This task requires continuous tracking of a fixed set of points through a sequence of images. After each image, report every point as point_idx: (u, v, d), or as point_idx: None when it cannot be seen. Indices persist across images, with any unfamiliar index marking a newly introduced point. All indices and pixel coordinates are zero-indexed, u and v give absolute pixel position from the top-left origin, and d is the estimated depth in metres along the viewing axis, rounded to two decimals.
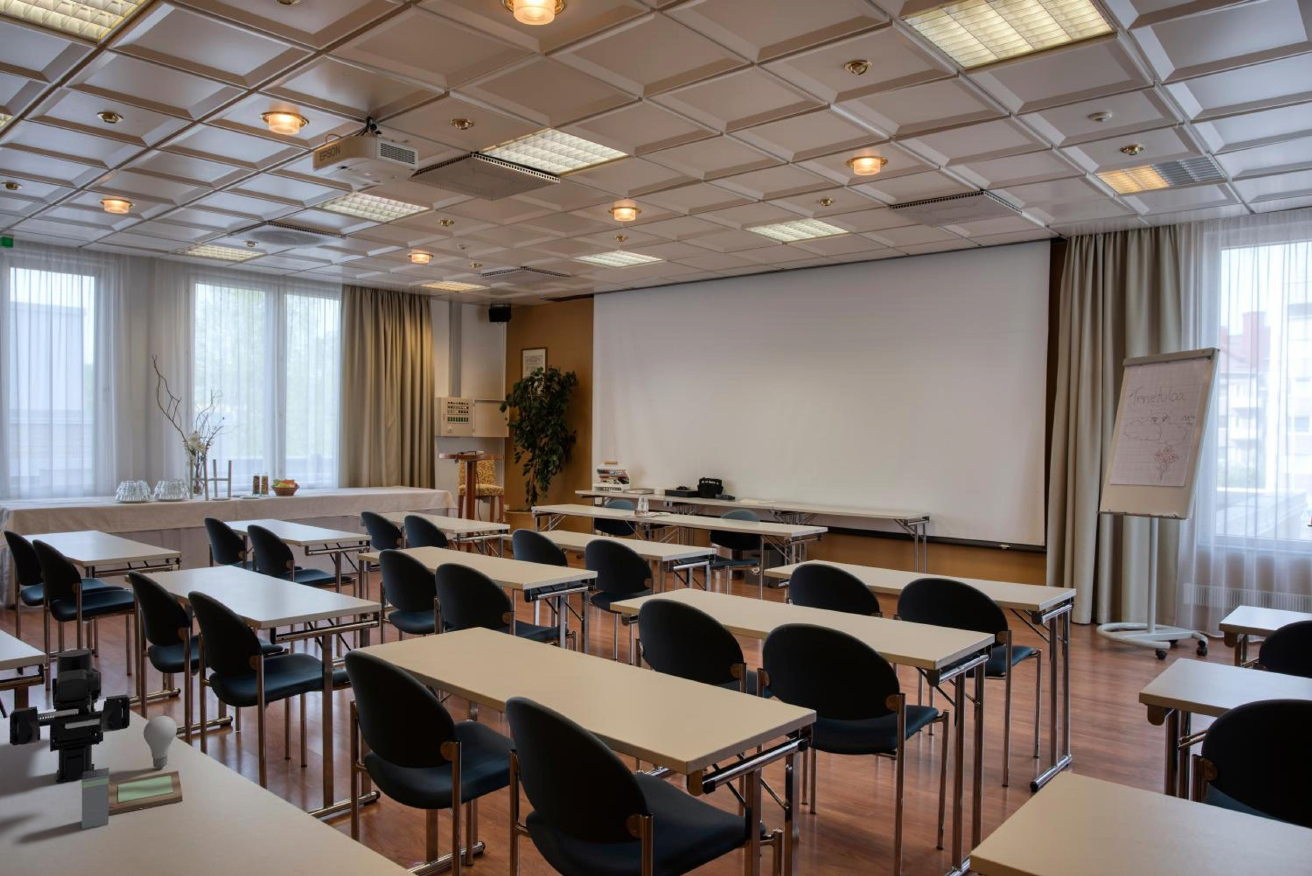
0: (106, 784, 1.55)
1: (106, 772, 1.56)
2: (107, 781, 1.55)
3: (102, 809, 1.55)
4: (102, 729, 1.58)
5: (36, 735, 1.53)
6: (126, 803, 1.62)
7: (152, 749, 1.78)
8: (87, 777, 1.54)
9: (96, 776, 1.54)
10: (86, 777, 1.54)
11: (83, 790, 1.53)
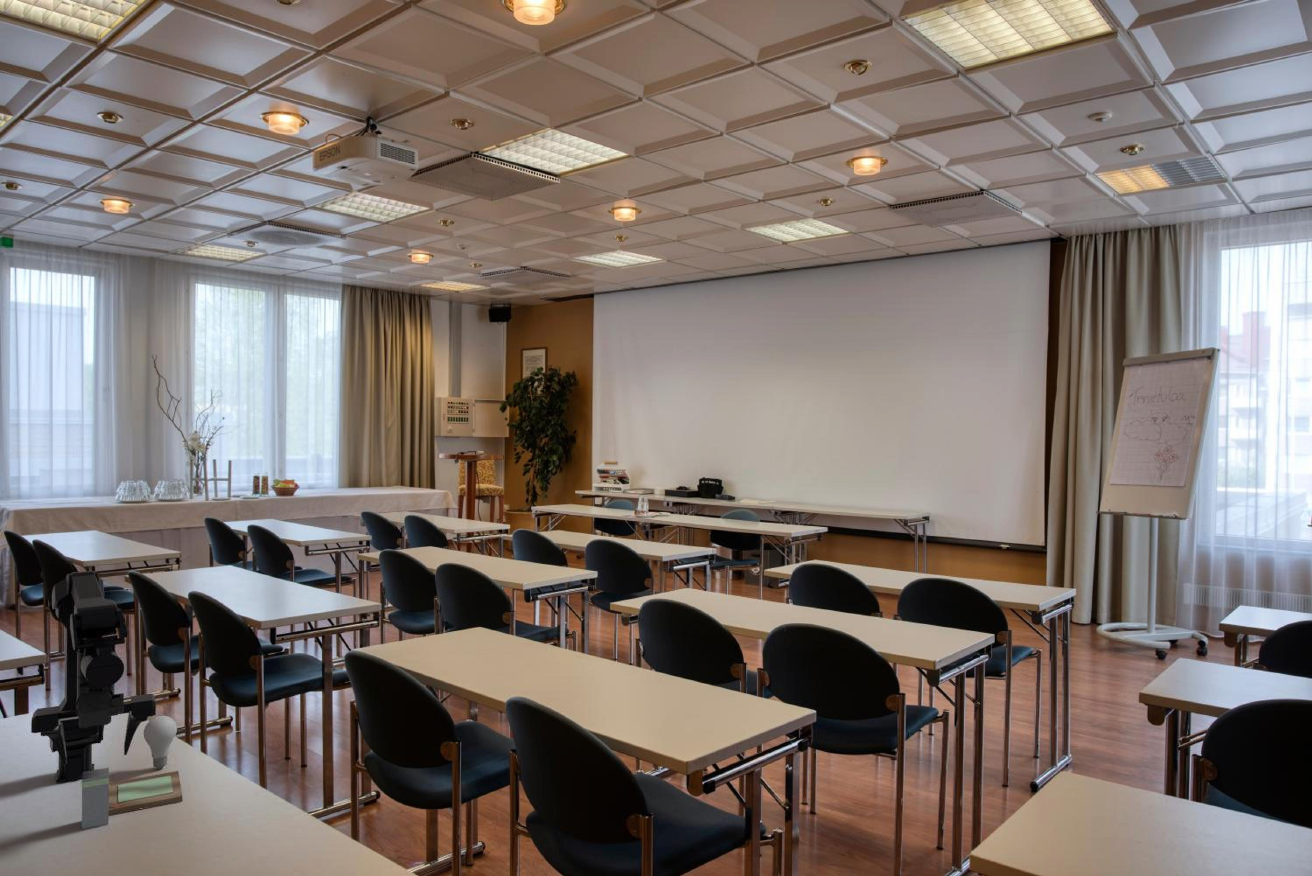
0: (106, 784, 1.55)
1: (106, 772, 1.56)
2: (107, 781, 1.55)
3: (102, 809, 1.55)
4: None
5: None
6: (126, 803, 1.62)
7: (152, 749, 1.78)
8: (87, 777, 1.54)
9: (96, 776, 1.54)
10: (86, 777, 1.54)
11: (83, 790, 1.53)
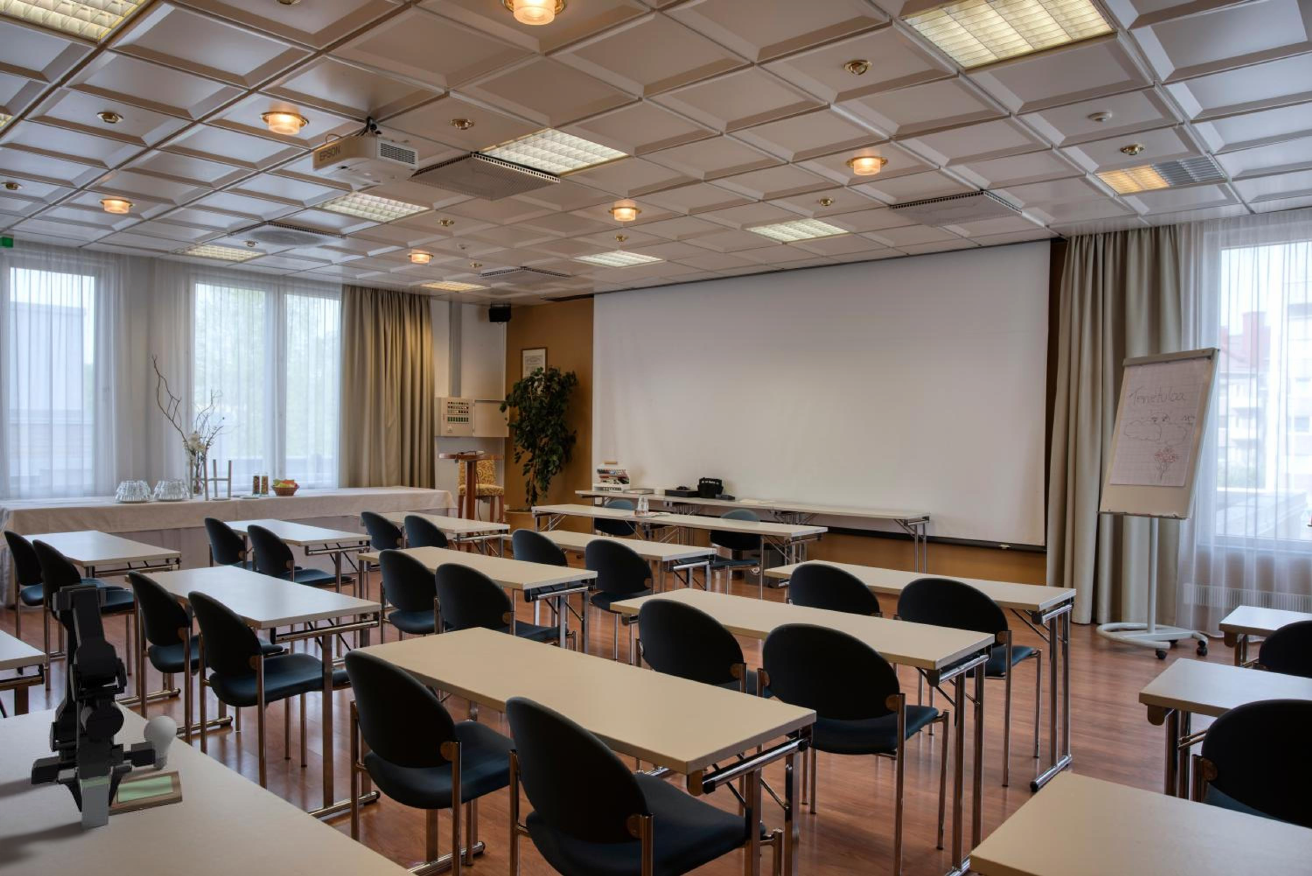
0: (106, 784, 1.55)
1: None
2: (107, 781, 1.55)
3: (102, 809, 1.54)
4: None
5: None
6: (126, 803, 1.62)
7: None
8: None
9: None
10: None
11: (83, 790, 1.53)
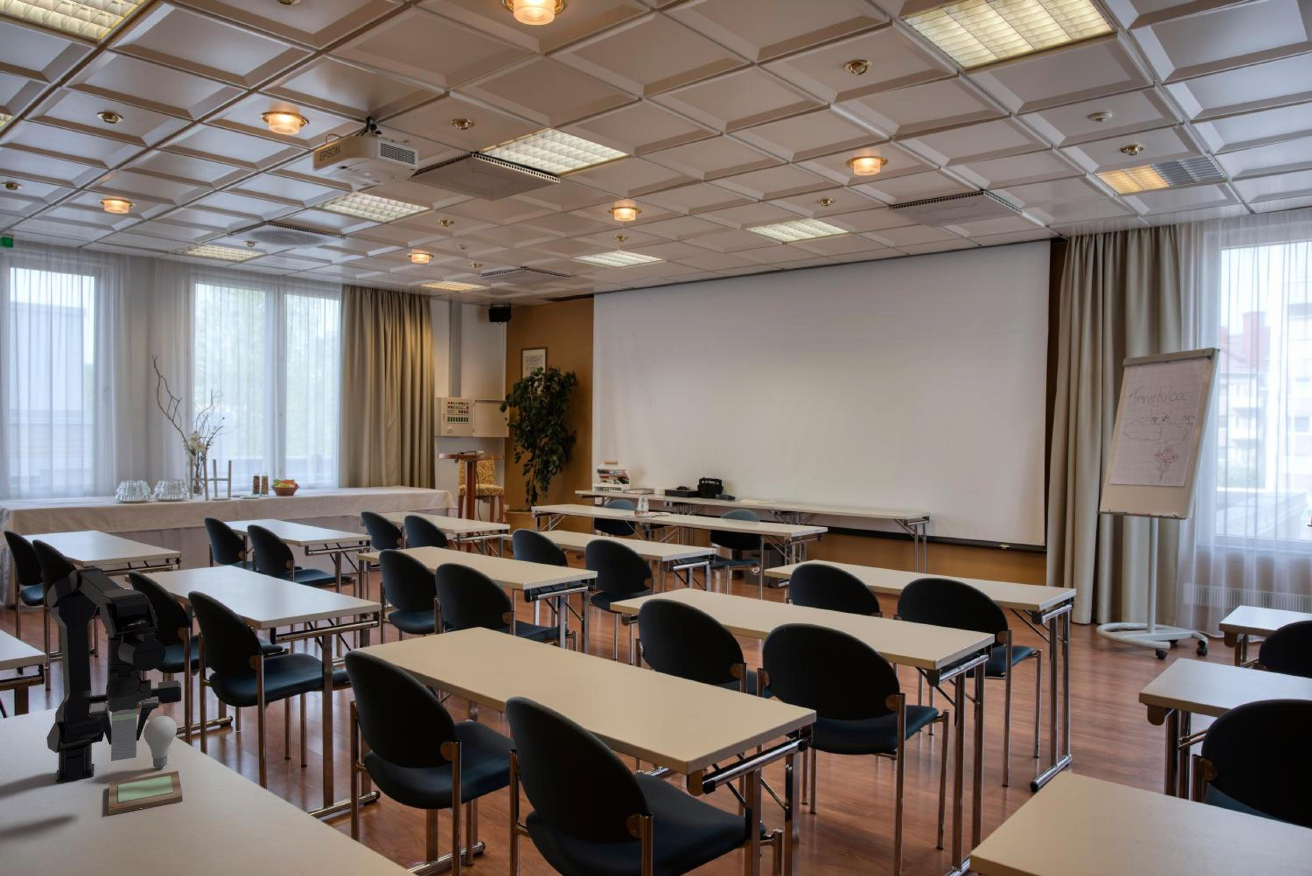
0: (134, 719, 1.61)
1: None
2: (135, 716, 1.61)
3: (130, 742, 1.61)
4: None
5: None
6: (126, 803, 1.62)
7: (152, 749, 1.78)
8: None
9: (125, 710, 1.61)
10: None
11: (112, 723, 1.60)
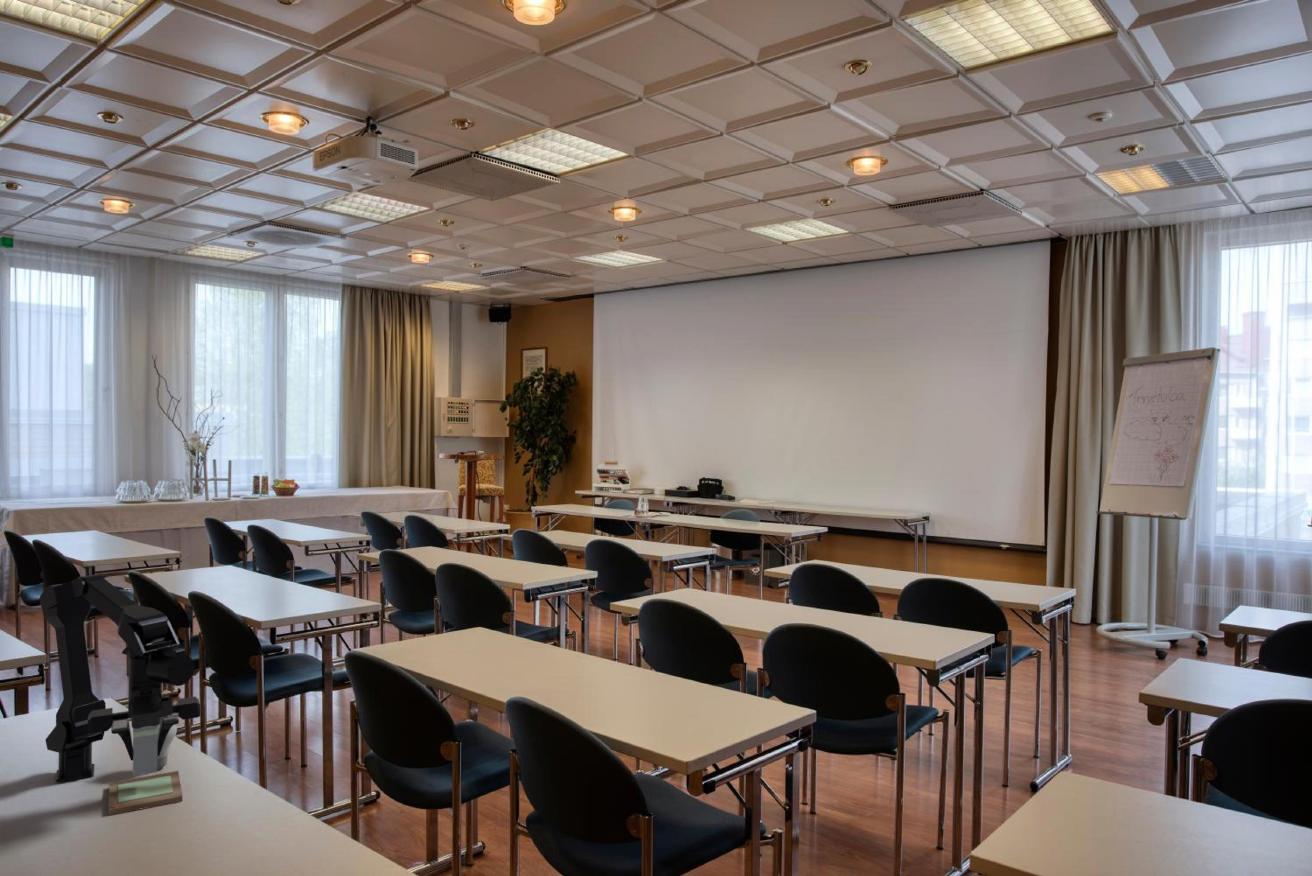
0: (155, 734, 1.67)
1: None
2: (156, 732, 1.67)
3: (152, 757, 1.66)
4: None
5: (130, 757, 1.66)
6: (126, 803, 1.62)
7: None
8: None
9: (146, 727, 1.66)
10: None
11: (134, 739, 1.65)
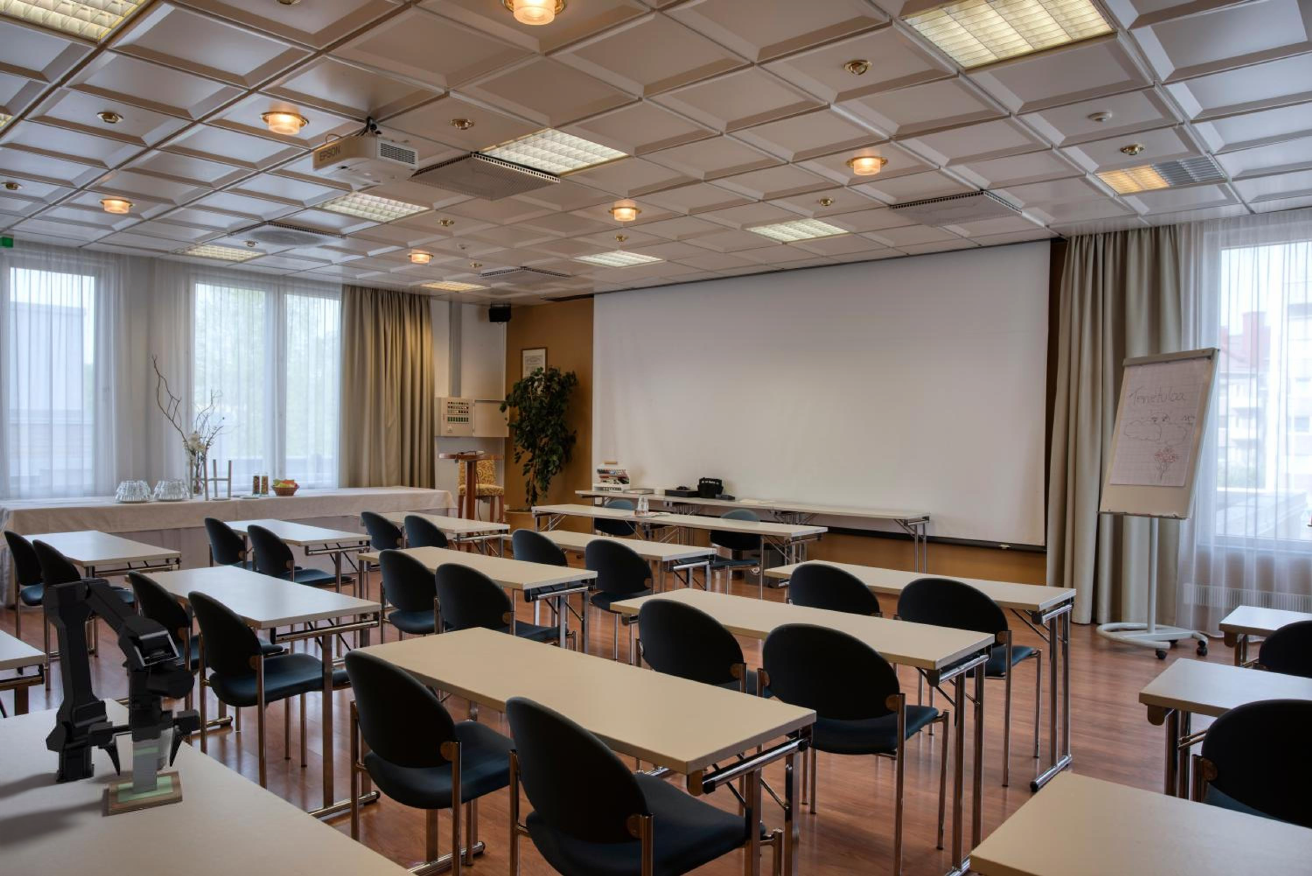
0: (155, 753, 1.67)
1: (155, 741, 1.68)
2: (156, 750, 1.67)
3: (151, 775, 1.66)
4: None
5: (117, 773, 1.65)
6: (126, 803, 1.62)
7: None
8: (138, 746, 1.66)
9: (146, 745, 1.66)
10: (137, 746, 1.66)
11: (134, 758, 1.65)
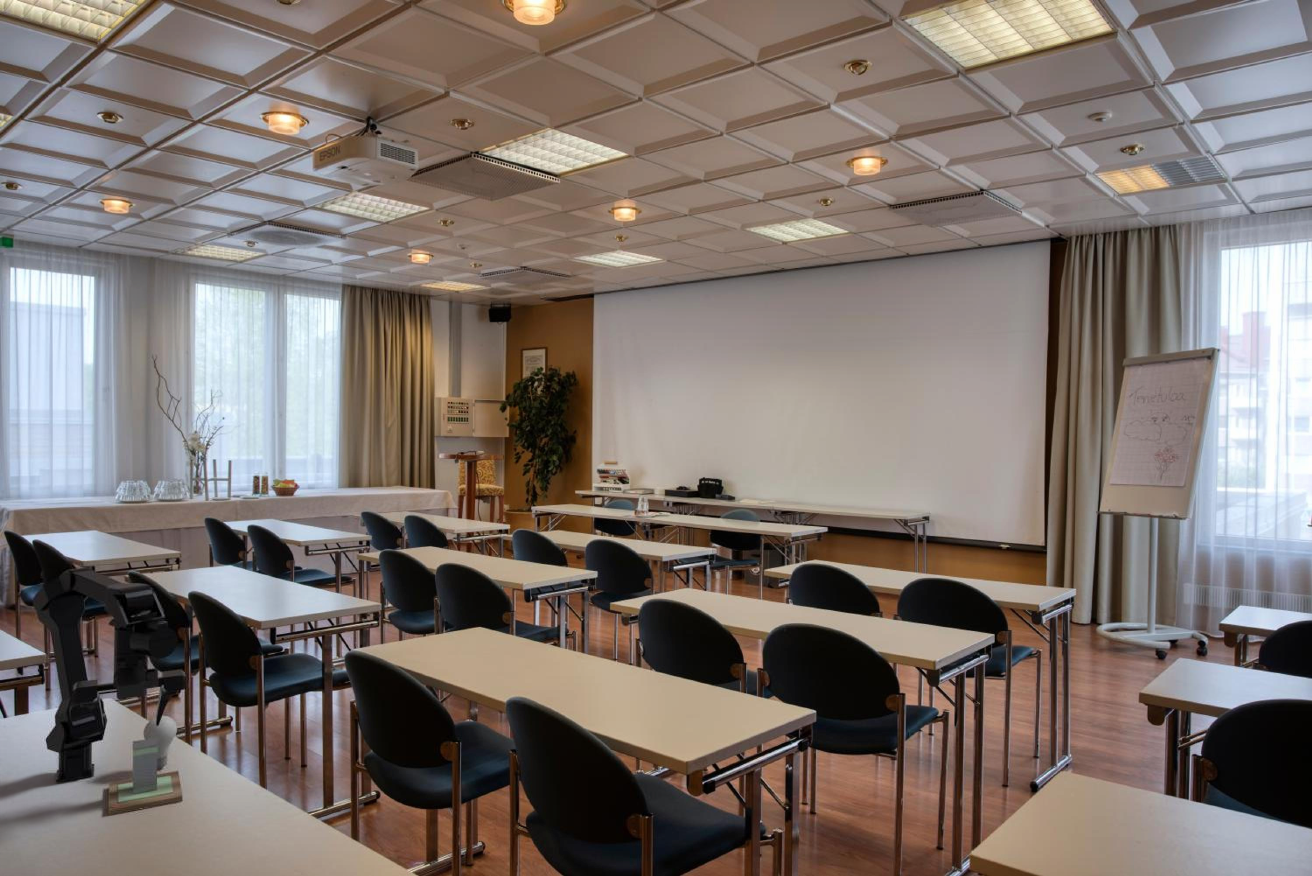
0: (155, 753, 1.67)
1: (155, 741, 1.68)
2: (156, 750, 1.67)
3: (151, 775, 1.66)
4: None
5: (100, 731, 1.65)
6: (126, 803, 1.62)
7: None
8: (138, 746, 1.66)
9: (146, 745, 1.66)
10: (137, 746, 1.66)
11: (134, 758, 1.65)
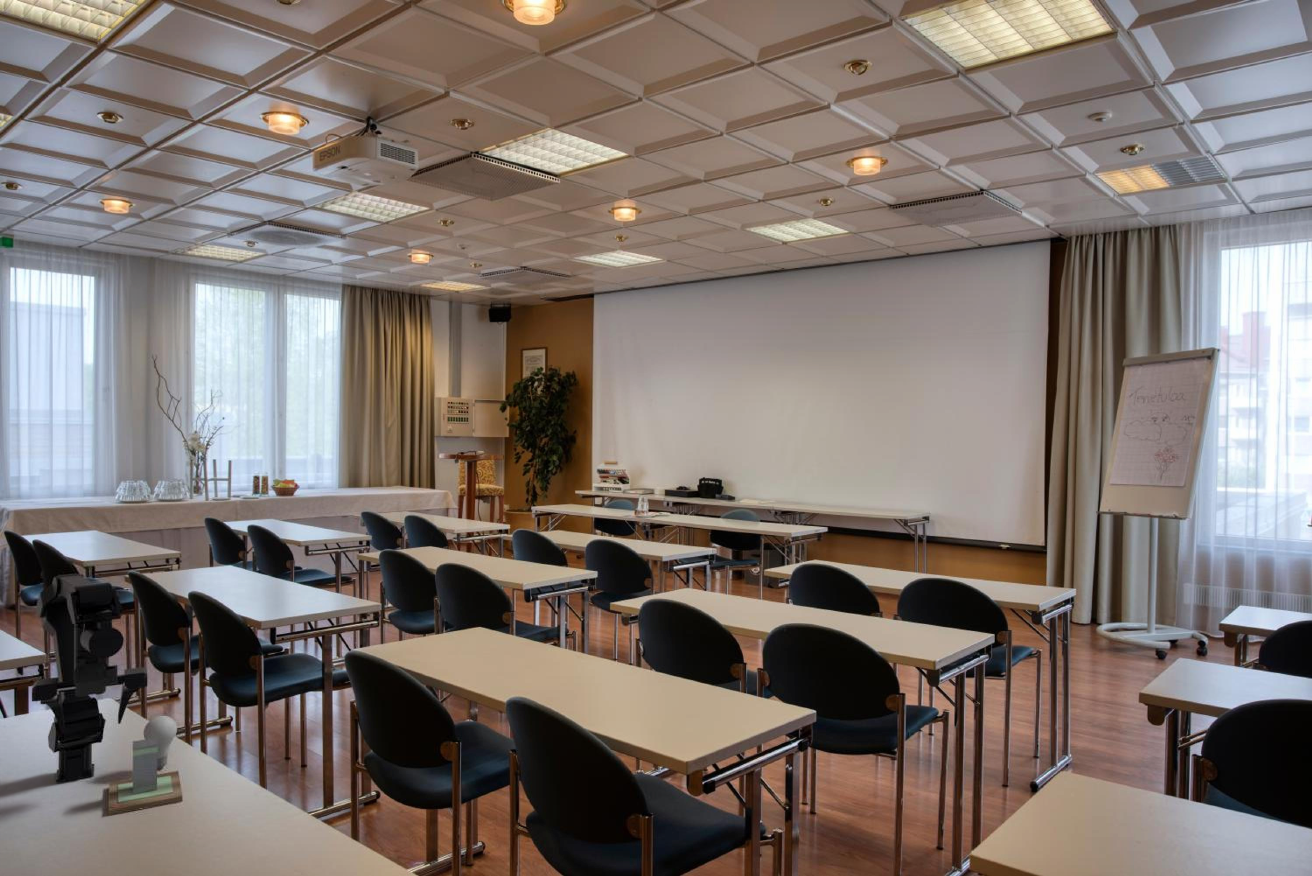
0: (155, 753, 1.67)
1: (155, 741, 1.68)
2: (156, 750, 1.67)
3: (151, 775, 1.66)
4: None
5: (60, 729, 1.65)
6: (126, 803, 1.62)
7: None
8: (138, 746, 1.66)
9: (146, 745, 1.66)
10: (137, 746, 1.66)
11: (134, 758, 1.65)
